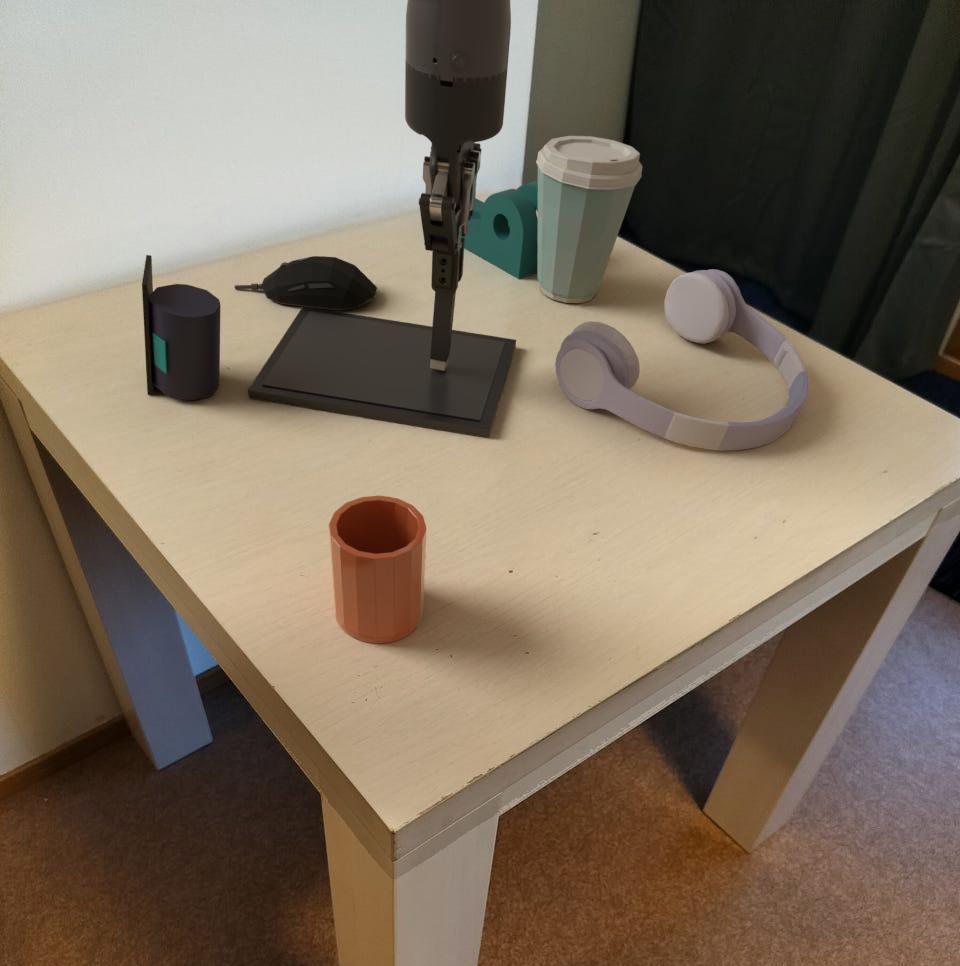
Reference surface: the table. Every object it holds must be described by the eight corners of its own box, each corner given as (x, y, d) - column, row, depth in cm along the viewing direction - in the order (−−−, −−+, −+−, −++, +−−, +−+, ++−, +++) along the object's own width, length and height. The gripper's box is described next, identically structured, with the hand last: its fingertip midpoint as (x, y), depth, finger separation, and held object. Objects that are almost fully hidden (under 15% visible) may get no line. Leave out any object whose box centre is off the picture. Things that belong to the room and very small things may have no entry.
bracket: (560, 263, 103) (570, 192, 97) (518, 278, 100) (526, 206, 94) (457, 207, 112) (460, 139, 106) (415, 220, 108) (416, 150, 102)
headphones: (539, 385, 85) (710, 496, 77) (553, 317, 80) (738, 430, 72) (675, 313, 97) (834, 403, 89) (694, 250, 91) (866, 340, 84)
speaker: (124, 393, 79) (110, 280, 72) (152, 363, 83) (142, 252, 76) (207, 414, 79) (202, 303, 72) (231, 383, 83) (229, 275, 76)
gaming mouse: (241, 275, 96) (236, 237, 93) (379, 286, 96) (379, 249, 93) (228, 303, 92) (223, 265, 89) (373, 315, 92) (372, 277, 89)
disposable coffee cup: (505, 275, 100) (519, 128, 89) (588, 262, 104) (611, 120, 93) (549, 320, 94) (570, 169, 83) (636, 305, 98) (667, 159, 87)
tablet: (248, 398, 81) (247, 388, 80) (303, 314, 91) (302, 304, 91) (488, 438, 79) (489, 428, 78) (515, 347, 90) (516, 338, 89)
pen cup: (324, 634, 62) (317, 548, 56) (348, 575, 66) (344, 488, 60) (411, 650, 62) (413, 565, 56) (430, 589, 66) (434, 504, 60)
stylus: (428, 368, 83) (440, 229, 74) (432, 360, 85) (443, 221, 75) (445, 372, 83) (459, 232, 74) (449, 363, 85) (462, 224, 75)
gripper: (426, 25, 70) (421, 246, 83) (383, 77, 61) (385, 316, 74) (520, 38, 70) (501, 257, 82) (492, 92, 60) (475, 330, 73)
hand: (446, 284), depth 78 cm, fingers closed on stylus, 1 cm apart
